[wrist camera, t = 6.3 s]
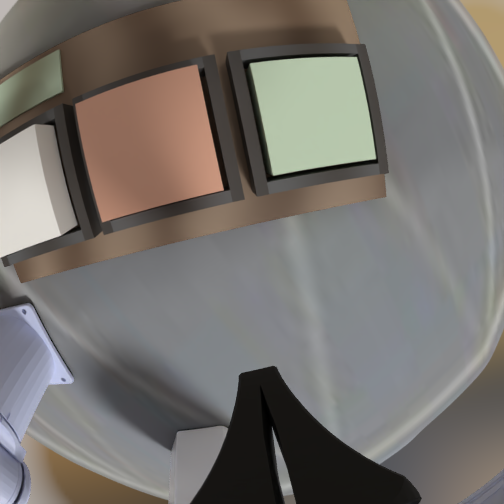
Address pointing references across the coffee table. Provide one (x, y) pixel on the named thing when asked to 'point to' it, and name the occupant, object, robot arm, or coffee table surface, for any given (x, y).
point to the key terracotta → (149, 143)
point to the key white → (32, 190)
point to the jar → (193, 461)
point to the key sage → (310, 113)
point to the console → (218, 110)
